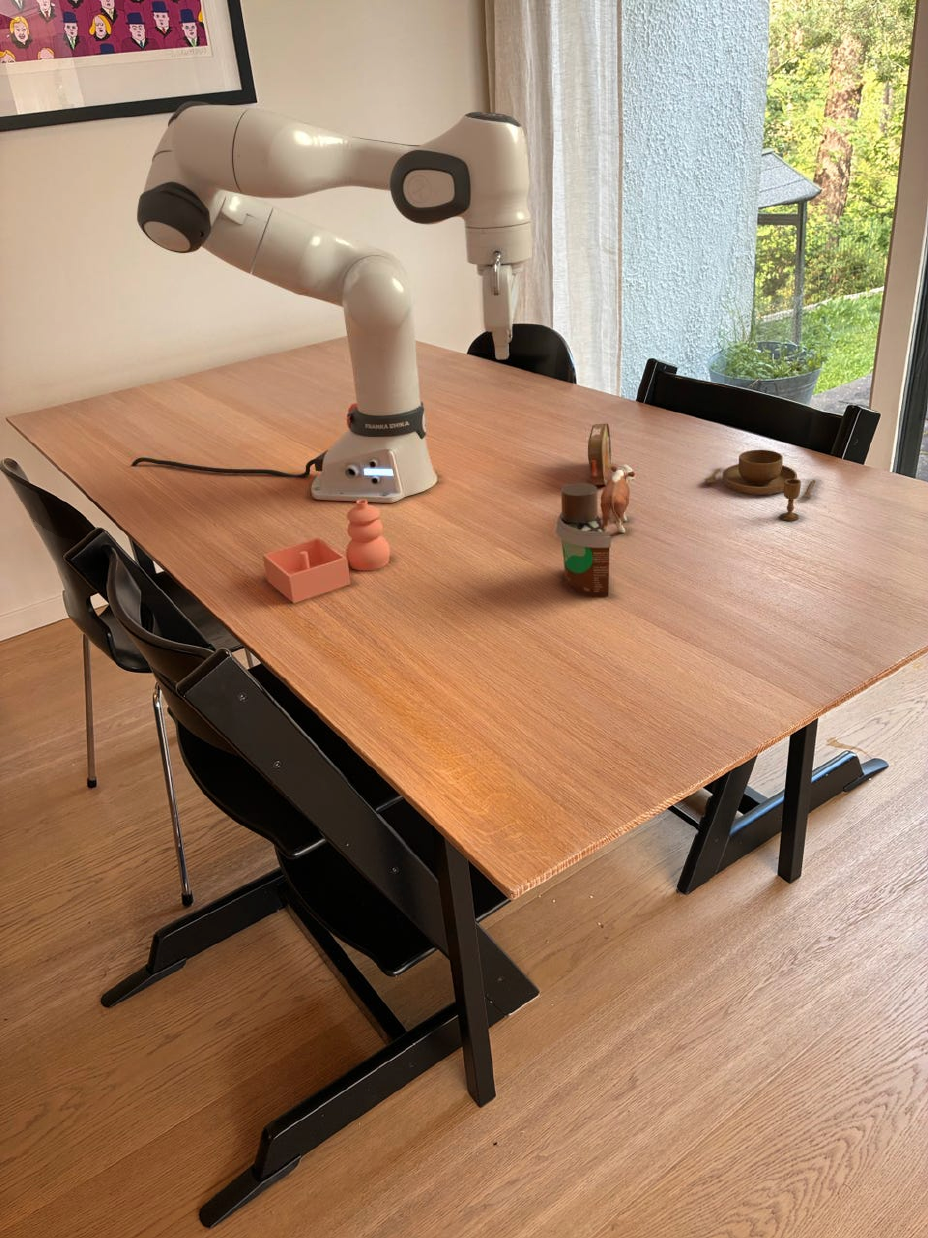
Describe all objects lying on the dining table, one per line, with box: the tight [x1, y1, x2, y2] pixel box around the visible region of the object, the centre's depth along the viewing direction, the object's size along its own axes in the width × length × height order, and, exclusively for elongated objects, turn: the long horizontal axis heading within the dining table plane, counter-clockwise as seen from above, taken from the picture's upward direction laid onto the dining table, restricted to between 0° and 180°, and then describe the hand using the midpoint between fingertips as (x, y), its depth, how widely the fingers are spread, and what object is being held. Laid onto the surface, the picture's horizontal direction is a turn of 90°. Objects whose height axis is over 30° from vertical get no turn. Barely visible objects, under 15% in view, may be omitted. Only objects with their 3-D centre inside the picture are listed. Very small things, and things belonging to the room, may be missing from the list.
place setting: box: [704, 449, 816, 522], centre depth 162 cm, size 18×20×6 cm
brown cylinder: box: [560, 482, 599, 524], centre depth 134 cm, size 5×5×4 cm
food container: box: [555, 511, 612, 597], centre depth 137 cm, size 12×6×10 cm, turn 5°
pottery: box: [262, 499, 391, 604], centre depth 146 cm, size 18×10×10 cm, turn 123°
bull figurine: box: [600, 464, 636, 534], centre depth 154 cm, size 4×13×8 cm, turn 161°
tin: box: [587, 422, 612, 486], centre depth 173 cm, size 15×3×8 cm, turn 168°
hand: (504, 349), depth 141 cm, fingers open, 8 cm apart
